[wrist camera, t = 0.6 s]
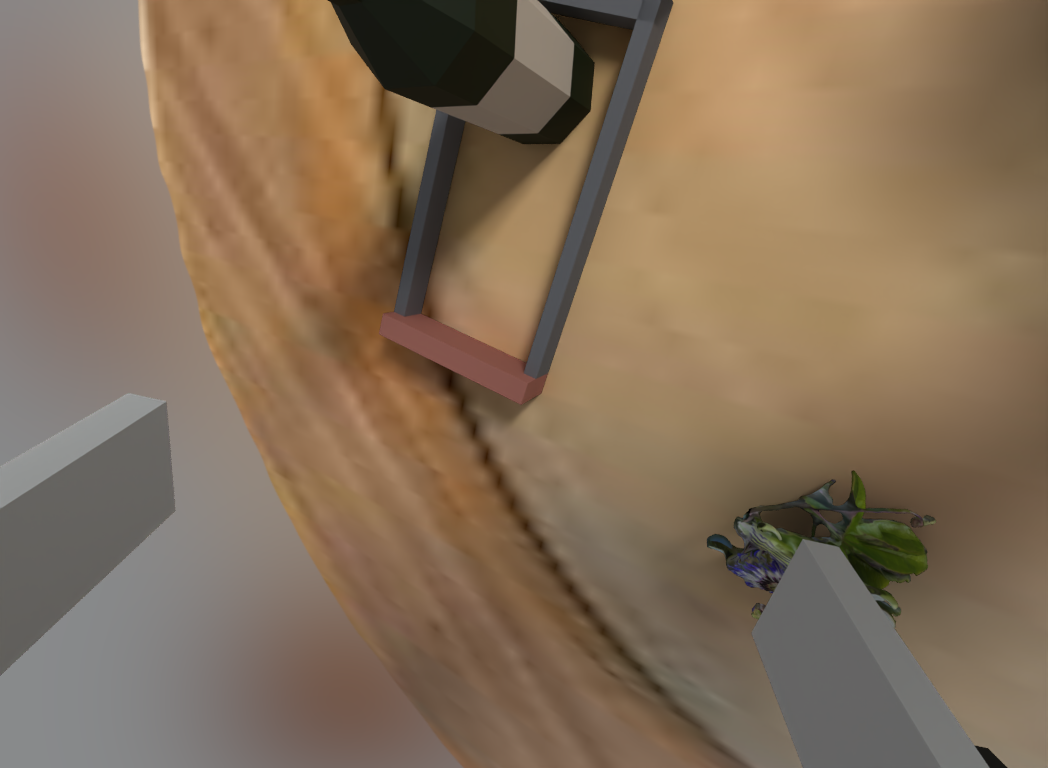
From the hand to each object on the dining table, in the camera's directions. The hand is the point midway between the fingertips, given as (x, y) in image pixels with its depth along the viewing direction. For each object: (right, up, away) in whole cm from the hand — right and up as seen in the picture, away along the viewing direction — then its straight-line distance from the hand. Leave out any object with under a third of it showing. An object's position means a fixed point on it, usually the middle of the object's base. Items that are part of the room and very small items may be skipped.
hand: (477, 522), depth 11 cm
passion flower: (+22, -7, +28) cm, 37 cm away
